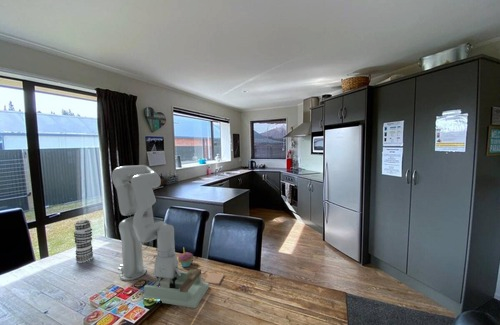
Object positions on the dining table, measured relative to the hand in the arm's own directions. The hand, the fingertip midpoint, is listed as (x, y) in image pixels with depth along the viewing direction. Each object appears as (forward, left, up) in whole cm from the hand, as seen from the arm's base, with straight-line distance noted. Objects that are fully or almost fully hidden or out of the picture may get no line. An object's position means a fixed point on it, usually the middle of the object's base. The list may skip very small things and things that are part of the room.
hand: (167, 288), depth 100 cm
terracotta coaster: (+18, +14, -2) cm, 23 cm away
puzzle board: (+5, 0, -2) cm, 5 cm away
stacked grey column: (-71, +18, -2) cm, 73 cm away
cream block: (0, 0, -1) cm, 1 cm away
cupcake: (-4, +24, -2) cm, 24 cm away
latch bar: (+13, 0, +5) cm, 14 cm away
